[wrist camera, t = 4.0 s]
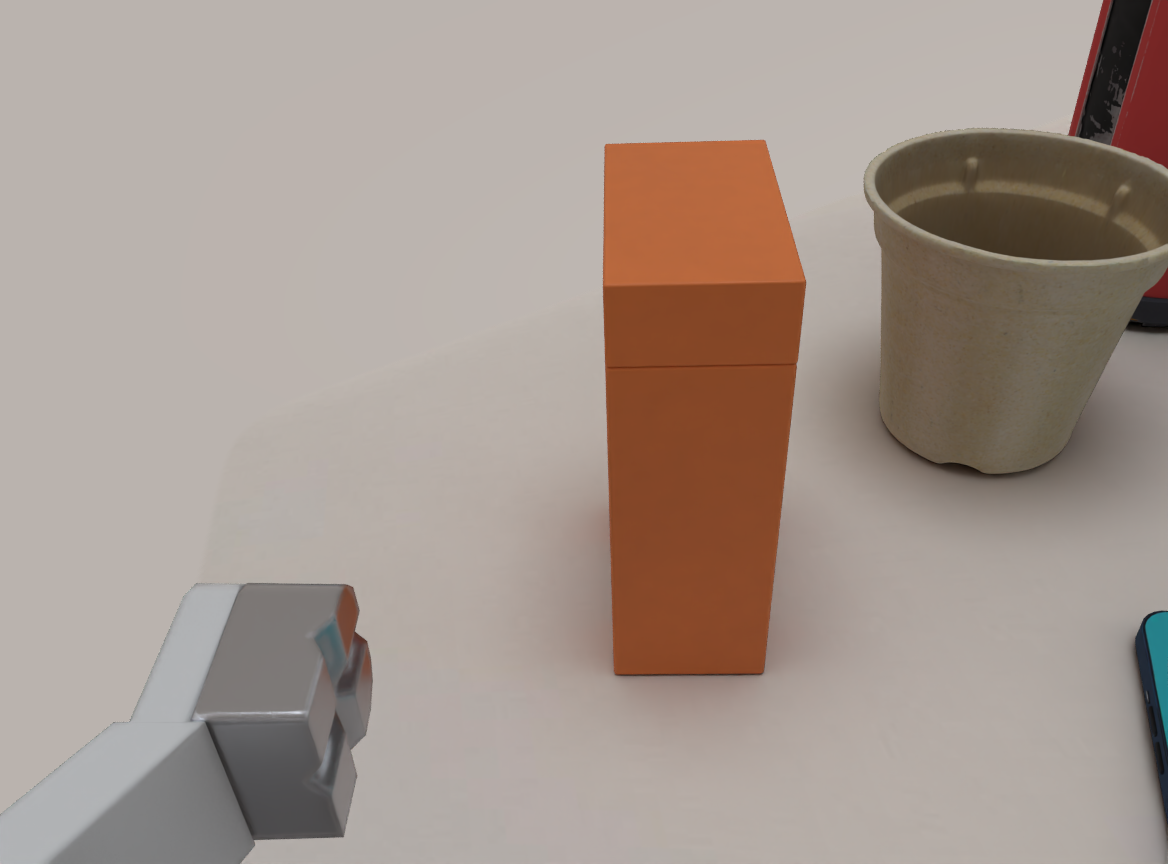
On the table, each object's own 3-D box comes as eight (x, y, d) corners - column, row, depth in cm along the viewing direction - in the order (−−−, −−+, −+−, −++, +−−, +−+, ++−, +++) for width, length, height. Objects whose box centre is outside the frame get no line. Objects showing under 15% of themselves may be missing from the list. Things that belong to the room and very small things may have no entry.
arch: (764, 674, 28) (807, 280, 21) (613, 676, 28) (603, 285, 21) (738, 499, 33) (765, 138, 26) (613, 501, 34) (604, 143, 26)
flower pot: (919, 317, 42) (960, 103, 36) (1164, 411, 36) (1254, 177, 31) (779, 426, 36) (802, 195, 31) (1041, 555, 31) (1123, 303, 26)
